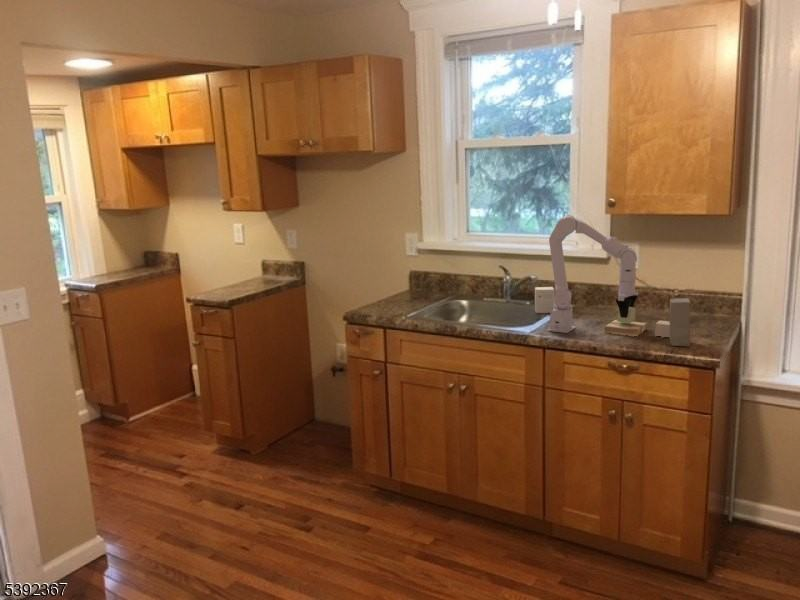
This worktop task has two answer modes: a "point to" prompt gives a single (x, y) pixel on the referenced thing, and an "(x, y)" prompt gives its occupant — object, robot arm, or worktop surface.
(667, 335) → the grey block
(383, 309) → the worktop surface
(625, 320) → the sage block
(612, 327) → the birch base block
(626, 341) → the worktop surface
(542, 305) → the small box
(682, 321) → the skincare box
